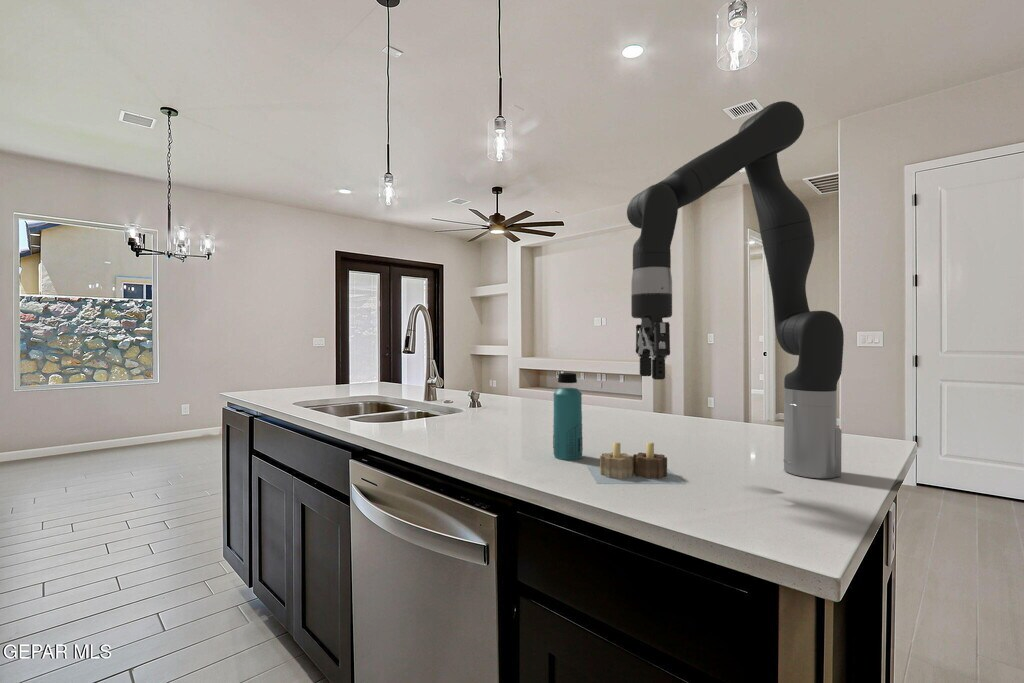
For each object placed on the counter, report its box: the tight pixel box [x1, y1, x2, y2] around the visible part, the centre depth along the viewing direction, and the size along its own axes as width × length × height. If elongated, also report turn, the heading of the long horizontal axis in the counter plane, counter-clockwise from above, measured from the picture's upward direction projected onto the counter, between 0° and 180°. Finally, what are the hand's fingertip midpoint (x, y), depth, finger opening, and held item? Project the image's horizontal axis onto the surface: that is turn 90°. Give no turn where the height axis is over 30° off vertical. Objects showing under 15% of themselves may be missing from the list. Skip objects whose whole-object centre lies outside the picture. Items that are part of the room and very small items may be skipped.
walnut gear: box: [632, 452, 668, 479], centre depth 93 cm, size 6×6×4 cm
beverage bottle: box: [552, 372, 584, 461], centre depth 107 cm, size 6×7×20 cm
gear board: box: [586, 441, 687, 485], centre depth 93 cm, size 16×12×8 cm
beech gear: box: [599, 451, 633, 479], centre depth 93 cm, size 6×6×4 cm
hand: (651, 377), depth 93 cm, fingers open, 8 cm apart
